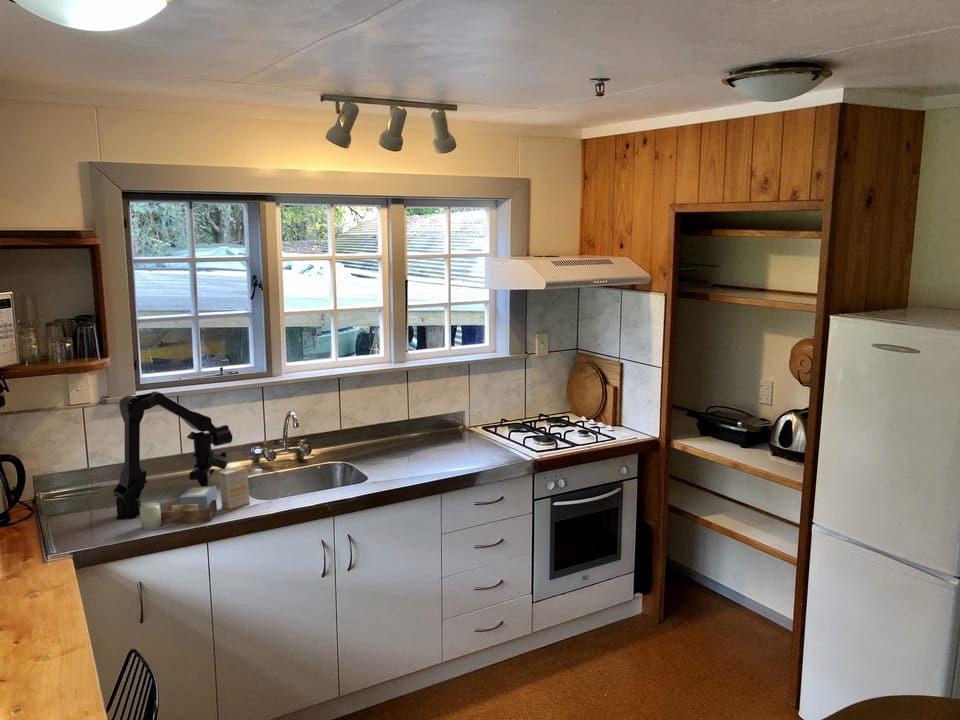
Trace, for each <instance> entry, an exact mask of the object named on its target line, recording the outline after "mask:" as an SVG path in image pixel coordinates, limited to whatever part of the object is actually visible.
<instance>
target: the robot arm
mask: <svg viewBox="0 0 960 720" xmlns="http://www.w3.org/2000/svg"><path fill="white" fill-rule="evenodd" d="M156 406H159V407H161V408H163V409H164V410H166V411H168V412H169V413H172V414H173V415H175V416H177V417H178V418H180V419H181V420H182V421H183V422H184V423H185V424H186V425H188V426H189V427H190V428H191V429H194V430H196V431H198V432H195V431H191V432H190V433H189V434H188V435H187V436H186V439H188V440H191V441H192V440H193V451H194V452H193V453H192V457H193V458H194V465H193V469H192V470H191V472H189V473H188V478H189V480H190V481H192V480H196V481H197V482H198V484H199V486H210V481H211V476H212V475H213V473H215V471H216V469H215V468H219V469H220V470H226V469H227V467H228V464H229V461H230V458H229V456H228V452H225V451H222V452H221V453H220V454H219V453H217V454H216V453H215V451H214V450H213V449H212V445H213V446H214V447H219V446H223V445H229V444H231V443H232V442H233V434H232V432H231V430H230V428H229V425H227V424H223V425H221V426H215V425H214V424H213V421H212V418H211V417H210V416H208V415H206V414H202V413H199V412H197V411H194V410H191V409H189V408H187V407H185V406H184V405H182V404H181V403H178V402H177V401H175V400H174V399H172V398H170V397H168V396H166V395H165V394H164V393H162V392H161V391H152V392H148V393H143V394H142V393H141V394H137V395H125V396H123V397H122V398H121V399H120V401H119V404H118V407H119V411H120V417H122V420H123V423H124V466H123V468H122V470H121V473H120V478H119V481H118V484H117V485H116V487H115V488H114V489H113V490H112V493H113V495H114V497H116V499H115V504H116V513H117V514H116V516H115V519H116V520H118V519H121V520H122V519H136V518H137V517H138V516H139V515H140V506H141V505H142V501H141V499H140V498H141V494H142V491H143V490H144V489H145V486H146V484H147V483H148V481H147V480H146V479H147V470H146V469H145V470H144V469H143V468H141V466H140V465H141V464H140V463H141V461H140V460H141V457H140V456H141V453H140V452H141V451H140V450H141V448H140V446H141V445H140V444H141V443H140V441H141V440H140V437H141V435H140V434H141V431H140V429H141V428H140V427H141V422H142V420H143V418H144V415H145V411H147V410H150V409H152V408H154V407H156ZM205 432H206V433H205ZM212 467H215V468H212Z"/></svg>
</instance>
